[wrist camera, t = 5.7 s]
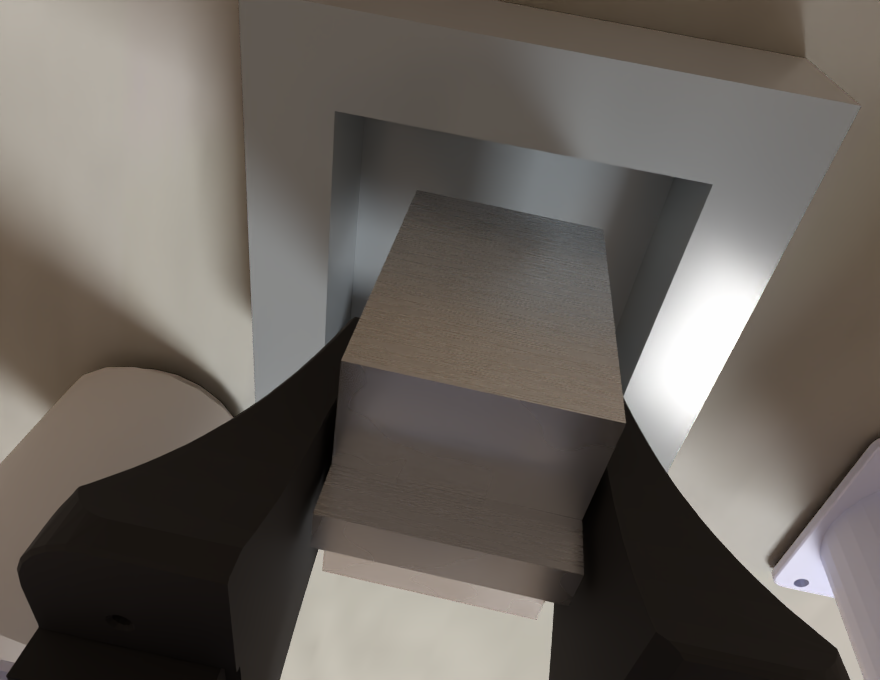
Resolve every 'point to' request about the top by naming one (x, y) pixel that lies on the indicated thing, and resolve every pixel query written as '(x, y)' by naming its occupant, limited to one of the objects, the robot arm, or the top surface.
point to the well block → (527, 168)
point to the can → (88, 461)
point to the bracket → (475, 410)
